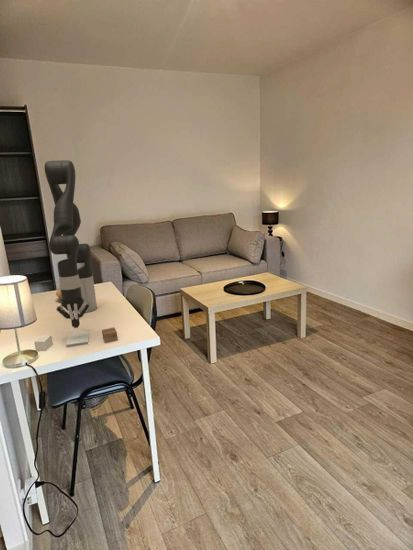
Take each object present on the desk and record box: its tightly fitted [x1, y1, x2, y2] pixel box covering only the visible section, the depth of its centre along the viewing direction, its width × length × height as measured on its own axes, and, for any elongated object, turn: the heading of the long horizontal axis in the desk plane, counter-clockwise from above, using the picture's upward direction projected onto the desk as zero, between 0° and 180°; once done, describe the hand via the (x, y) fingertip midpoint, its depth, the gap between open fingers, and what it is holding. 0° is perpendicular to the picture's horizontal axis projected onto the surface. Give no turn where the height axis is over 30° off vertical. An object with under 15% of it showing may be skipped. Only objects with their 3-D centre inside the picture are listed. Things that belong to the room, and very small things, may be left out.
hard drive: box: [65, 329, 90, 348], centre depth 148 cm, size 2×8×12 cm
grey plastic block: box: [33, 334, 54, 352], centre depth 142 cm, size 6×4×4 cm, turn 178°
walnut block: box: [101, 327, 119, 344], centre depth 146 cm, size 5×5×4 cm
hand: (76, 327), depth 147 cm, fingers closed
